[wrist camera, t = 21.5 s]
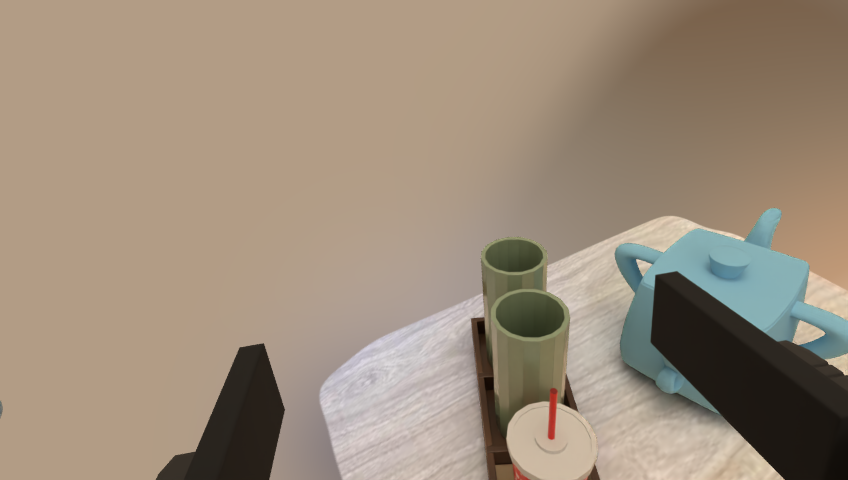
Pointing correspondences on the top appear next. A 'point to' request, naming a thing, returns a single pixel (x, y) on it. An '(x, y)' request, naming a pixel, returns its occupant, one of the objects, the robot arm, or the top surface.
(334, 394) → the top surface
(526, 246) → the cup
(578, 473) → the beverage cup
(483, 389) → the cup rack
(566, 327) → the cup
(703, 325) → the robot arm
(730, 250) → the teapot
